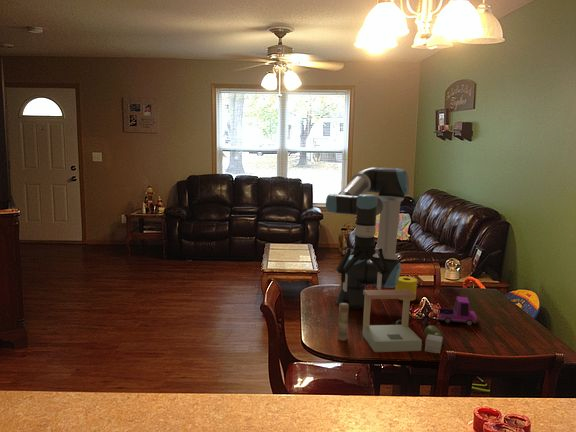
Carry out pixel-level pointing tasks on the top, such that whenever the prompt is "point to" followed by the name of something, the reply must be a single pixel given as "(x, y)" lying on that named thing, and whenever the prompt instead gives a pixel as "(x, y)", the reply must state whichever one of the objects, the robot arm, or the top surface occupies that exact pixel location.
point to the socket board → (391, 338)
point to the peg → (343, 321)
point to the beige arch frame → (387, 295)
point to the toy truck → (458, 312)
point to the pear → (432, 331)
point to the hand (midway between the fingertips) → (361, 290)
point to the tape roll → (407, 285)
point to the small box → (433, 343)
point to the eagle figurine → (401, 322)
